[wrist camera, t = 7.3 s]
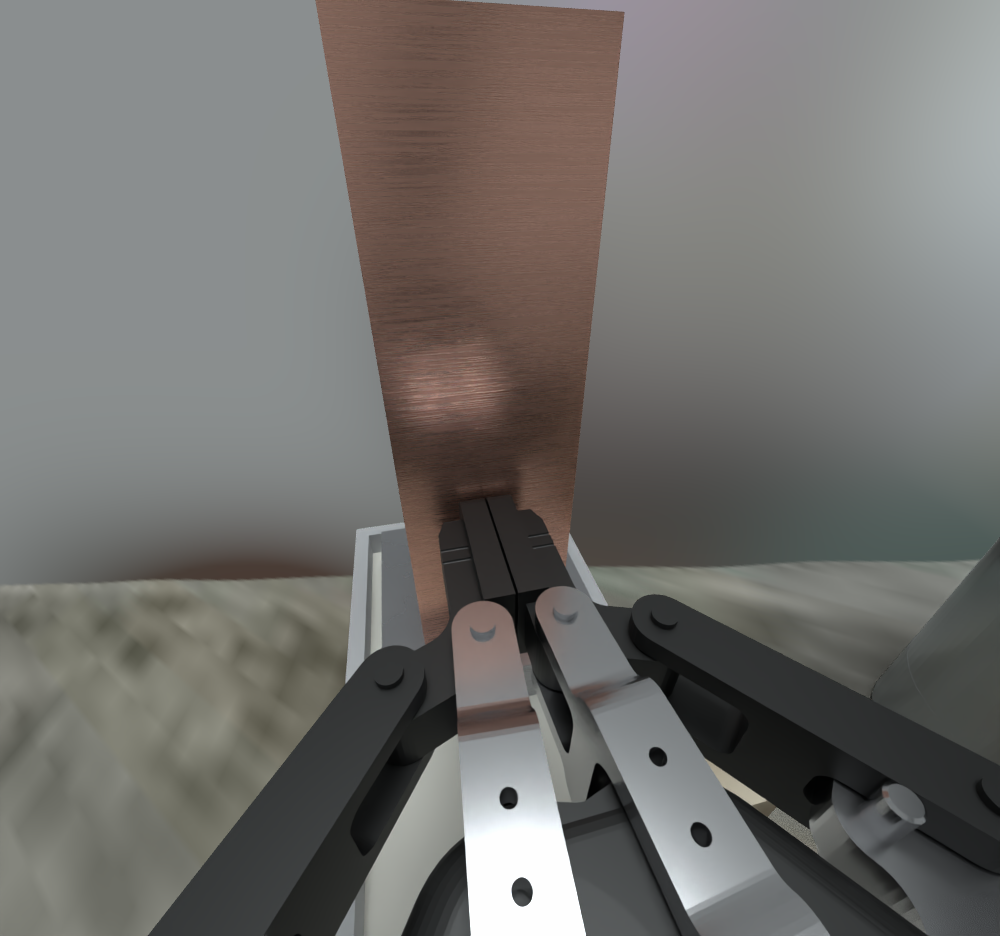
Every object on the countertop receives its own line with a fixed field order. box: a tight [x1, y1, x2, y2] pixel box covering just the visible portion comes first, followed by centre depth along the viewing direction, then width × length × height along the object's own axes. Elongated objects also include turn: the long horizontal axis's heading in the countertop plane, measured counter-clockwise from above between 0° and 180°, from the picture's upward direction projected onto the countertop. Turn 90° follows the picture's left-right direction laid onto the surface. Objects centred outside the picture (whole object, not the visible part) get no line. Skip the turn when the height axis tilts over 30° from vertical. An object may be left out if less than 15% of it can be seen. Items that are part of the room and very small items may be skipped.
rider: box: [316, 0, 624, 696], centre depth 14 cm, size 8×8×18 cm
